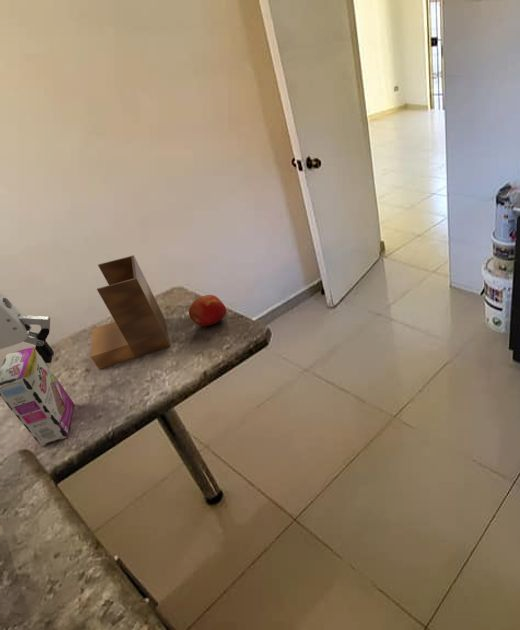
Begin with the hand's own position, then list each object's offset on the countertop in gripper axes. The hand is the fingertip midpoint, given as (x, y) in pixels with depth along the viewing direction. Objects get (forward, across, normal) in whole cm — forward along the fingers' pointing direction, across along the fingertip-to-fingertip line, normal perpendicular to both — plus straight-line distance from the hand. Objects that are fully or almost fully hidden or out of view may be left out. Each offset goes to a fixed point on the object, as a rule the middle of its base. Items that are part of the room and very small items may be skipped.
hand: (20, 369), depth 83 cm
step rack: (+15, -14, -23) cm, 31 cm away
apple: (+16, -33, -20) cm, 42 cm away
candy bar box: (+15, +1, 0) cm, 15 cm away
